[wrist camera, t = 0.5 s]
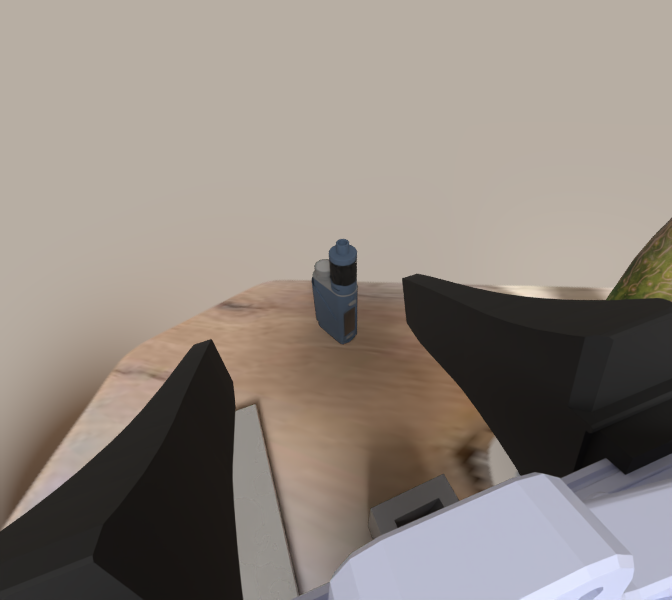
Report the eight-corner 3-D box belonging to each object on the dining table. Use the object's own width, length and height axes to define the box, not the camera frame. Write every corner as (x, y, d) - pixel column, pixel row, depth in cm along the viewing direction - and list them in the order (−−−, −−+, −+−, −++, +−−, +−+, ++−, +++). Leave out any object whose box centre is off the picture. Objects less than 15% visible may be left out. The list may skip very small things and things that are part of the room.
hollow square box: (474, 580, 20) (503, 571, 16) (404, 620, 19) (417, 621, 15) (429, 495, 23) (444, 471, 19) (367, 525, 22) (370, 506, 18)
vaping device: (344, 349, 33) (341, 256, 24) (312, 321, 36) (299, 229, 27) (362, 335, 34) (364, 242, 26) (329, 310, 37) (322, 218, 28)
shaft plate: (313, 659, 18) (304, 668, 15) (74, 797, 15) (-1, 845, 12) (257, 409, 29) (245, 383, 25) (111, 462, 26) (77, 441, 23)
